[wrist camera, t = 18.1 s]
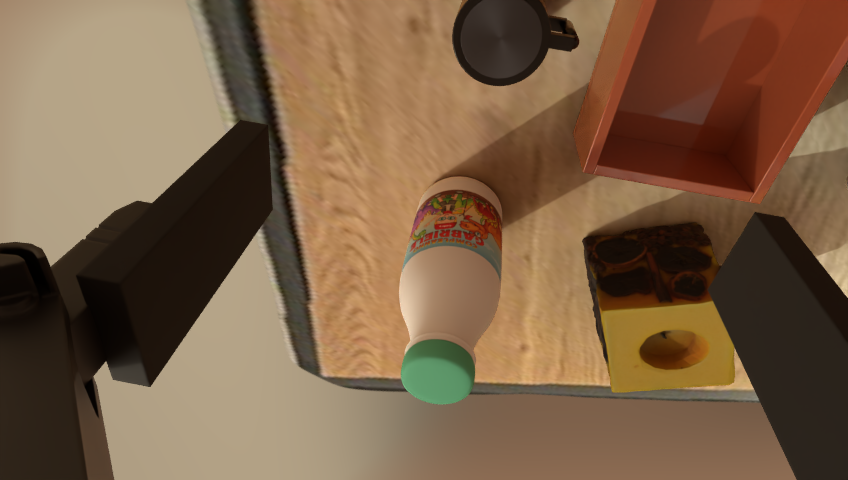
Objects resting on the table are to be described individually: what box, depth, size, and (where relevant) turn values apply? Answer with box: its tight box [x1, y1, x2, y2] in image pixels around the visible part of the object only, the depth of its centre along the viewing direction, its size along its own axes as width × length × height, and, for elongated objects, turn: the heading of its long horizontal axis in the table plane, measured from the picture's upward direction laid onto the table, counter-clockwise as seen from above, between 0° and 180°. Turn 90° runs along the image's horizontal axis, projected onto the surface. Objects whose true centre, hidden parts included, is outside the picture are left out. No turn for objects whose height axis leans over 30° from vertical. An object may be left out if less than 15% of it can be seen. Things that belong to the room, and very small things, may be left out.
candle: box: [582, 223, 735, 392], centre depth 45 cm, size 10×10×10 cm
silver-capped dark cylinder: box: [452, 0, 579, 86], centre depth 33 cm, size 8×6×10 cm
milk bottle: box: [399, 176, 502, 404], centre depth 40 cm, size 8×8×20 cm
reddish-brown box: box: [573, 0, 848, 204], centre depth 33 cm, size 22×13×7 cm, turn 173°
